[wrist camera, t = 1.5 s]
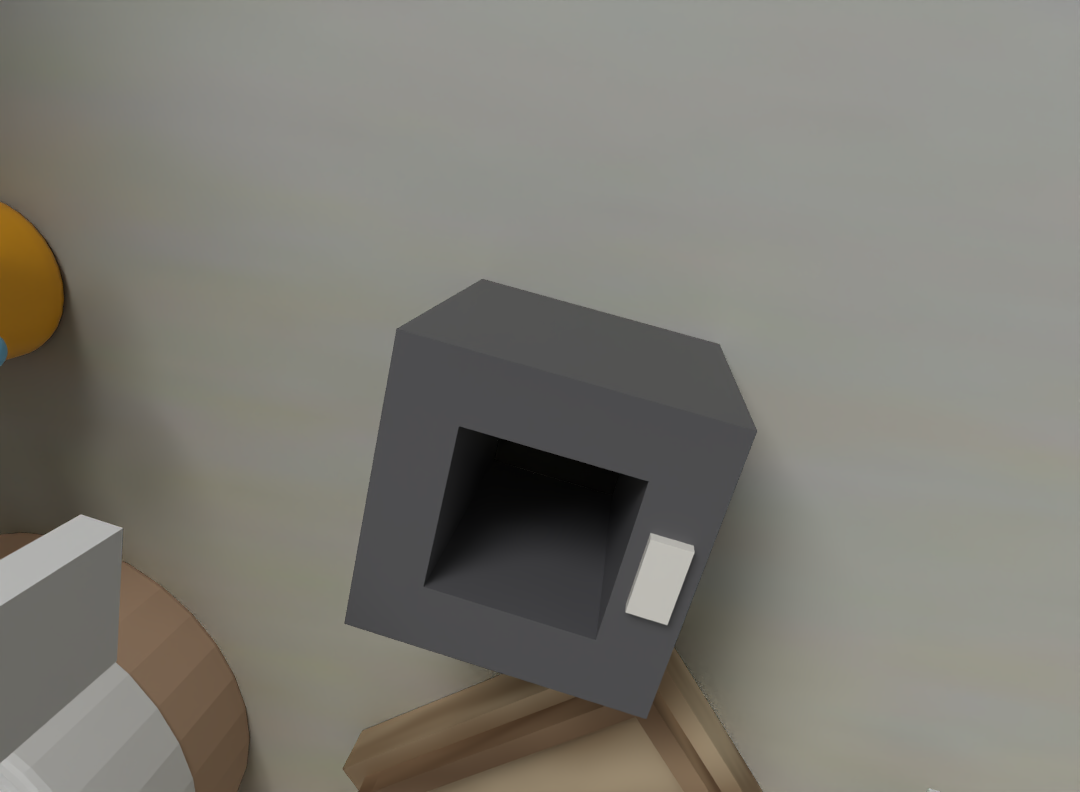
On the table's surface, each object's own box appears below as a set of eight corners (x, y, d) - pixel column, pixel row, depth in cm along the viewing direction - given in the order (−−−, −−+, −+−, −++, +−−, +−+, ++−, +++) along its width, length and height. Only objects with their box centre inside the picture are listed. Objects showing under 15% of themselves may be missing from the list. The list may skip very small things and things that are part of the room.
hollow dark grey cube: (436, 489, 25) (339, 631, 17) (482, 278, 22) (391, 331, 14) (647, 552, 24) (646, 728, 16) (719, 344, 22) (759, 435, 14)
